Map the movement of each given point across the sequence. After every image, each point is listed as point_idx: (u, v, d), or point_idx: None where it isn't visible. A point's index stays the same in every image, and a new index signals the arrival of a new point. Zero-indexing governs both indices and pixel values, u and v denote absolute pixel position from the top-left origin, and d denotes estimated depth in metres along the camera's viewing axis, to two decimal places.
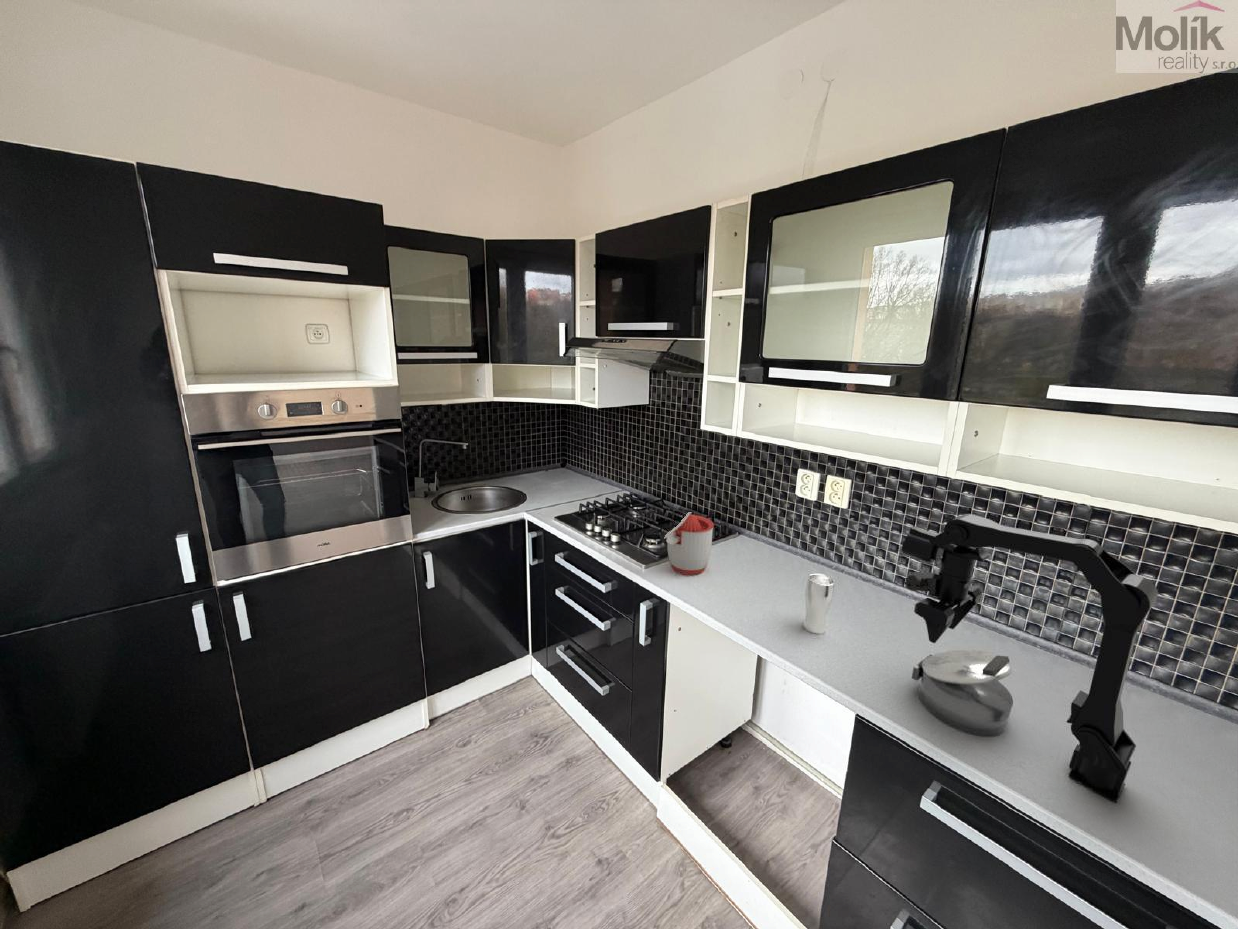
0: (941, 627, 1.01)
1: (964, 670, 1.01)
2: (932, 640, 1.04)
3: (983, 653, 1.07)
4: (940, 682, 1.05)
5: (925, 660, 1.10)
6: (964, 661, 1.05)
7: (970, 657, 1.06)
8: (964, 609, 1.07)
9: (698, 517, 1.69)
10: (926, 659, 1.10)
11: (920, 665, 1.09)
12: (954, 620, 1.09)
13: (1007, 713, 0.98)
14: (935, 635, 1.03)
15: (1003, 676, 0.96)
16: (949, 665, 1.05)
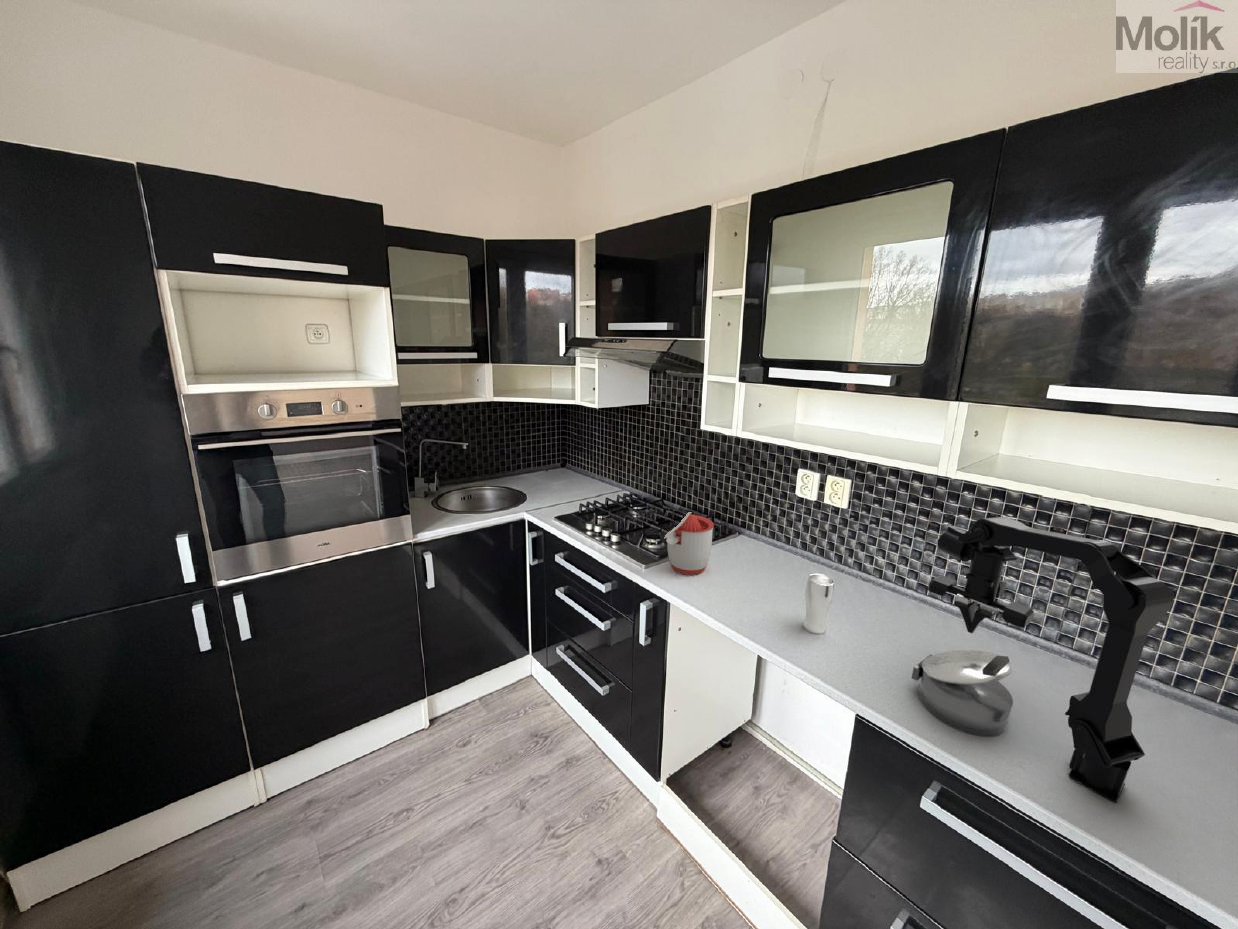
0: None
1: (964, 670, 1.01)
2: None
3: (983, 653, 1.07)
4: (940, 682, 1.05)
5: (925, 660, 1.10)
6: (964, 661, 1.05)
7: (970, 657, 1.06)
8: None
9: (698, 517, 1.69)
10: (926, 659, 1.10)
11: (920, 665, 1.09)
12: (972, 624, 1.10)
13: (1007, 713, 0.98)
14: None
15: (1003, 676, 0.96)
16: (949, 665, 1.05)
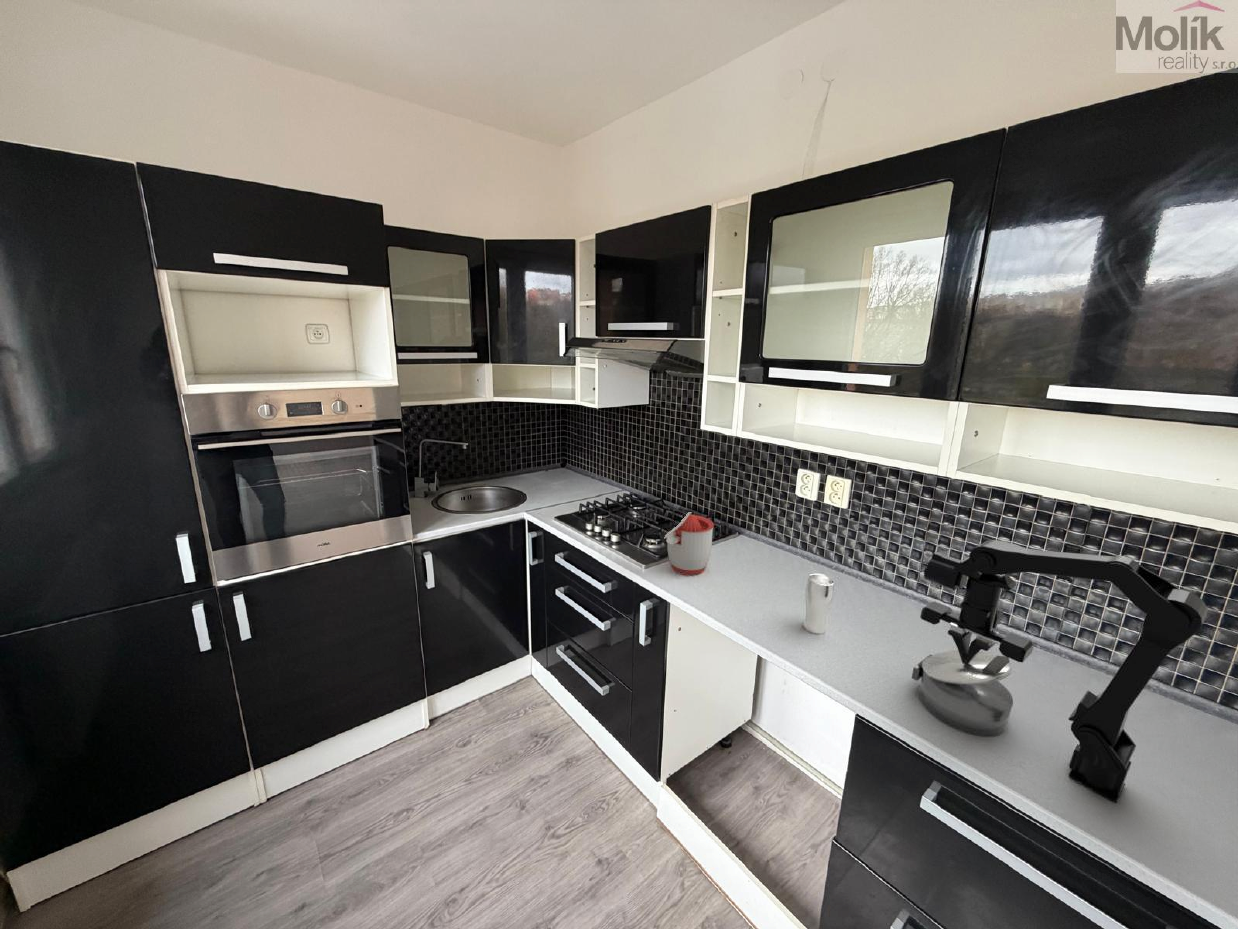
0: None
1: (964, 670, 1.01)
2: None
3: (983, 653, 1.07)
4: (940, 682, 1.05)
5: (925, 660, 1.10)
6: None
7: None
8: None
9: (698, 517, 1.69)
10: (926, 659, 1.10)
11: (920, 665, 1.09)
12: None
13: (1007, 713, 0.98)
14: None
15: (1003, 676, 0.96)
16: (949, 665, 1.05)
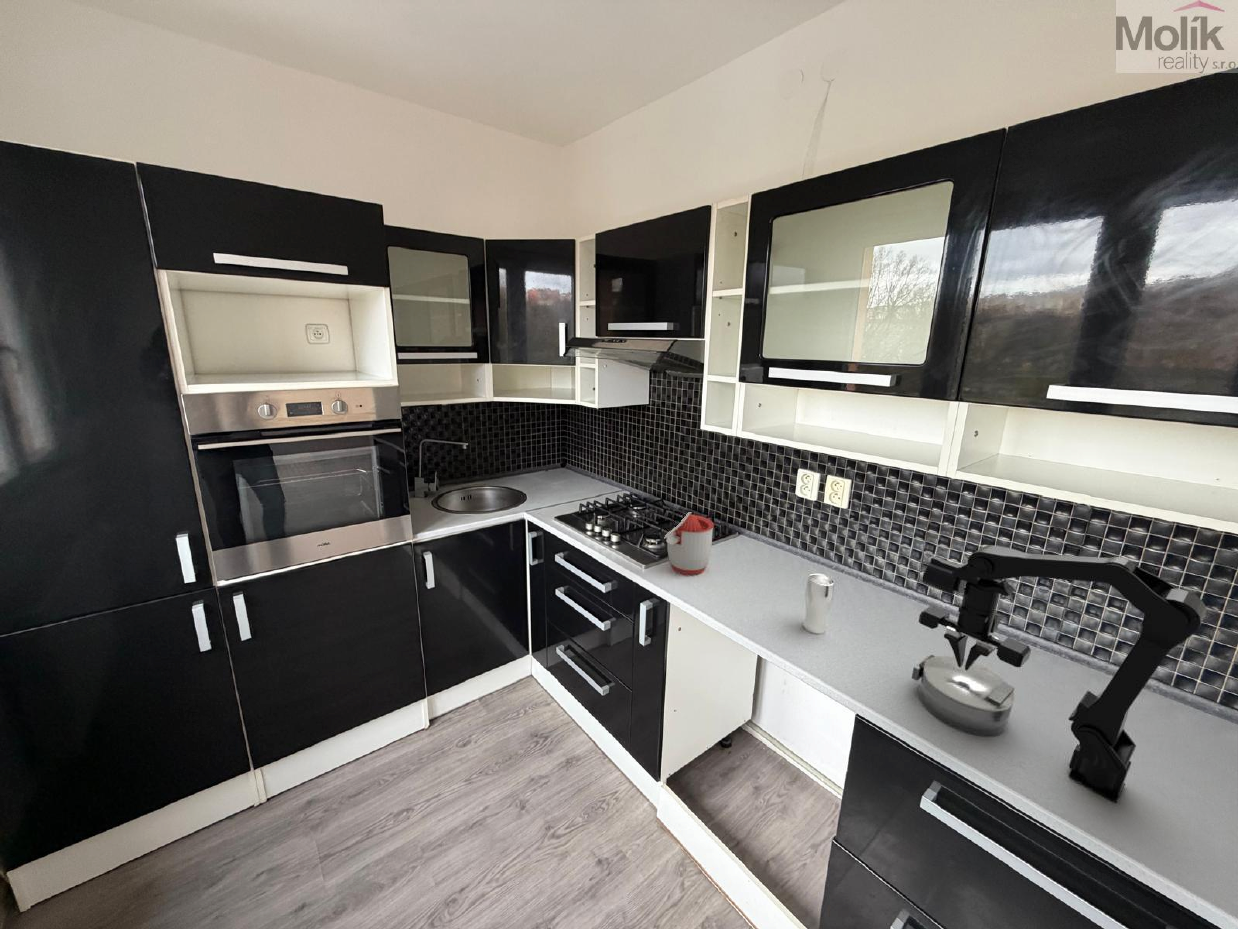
0: None
1: (967, 689, 1.01)
2: None
3: (986, 671, 1.07)
4: None
5: (927, 661, 1.10)
6: (967, 676, 1.05)
7: (973, 672, 1.06)
8: None
9: (698, 517, 1.69)
10: (928, 660, 1.10)
11: (921, 666, 1.09)
12: None
13: (1007, 713, 0.98)
14: None
15: (1005, 708, 0.97)
16: (952, 677, 1.05)
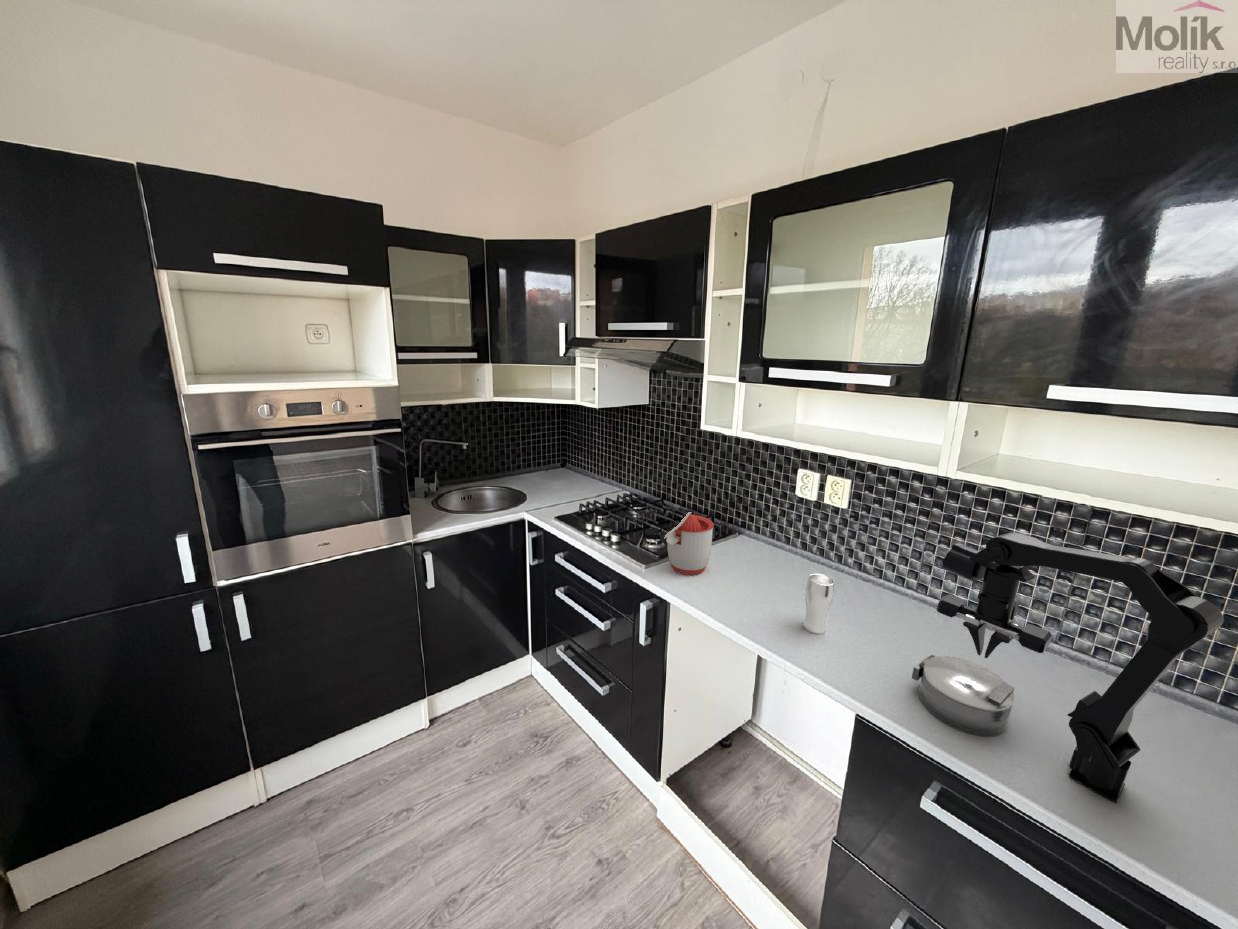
0: None
1: (967, 689, 1.01)
2: None
3: (986, 671, 1.07)
4: None
5: (927, 661, 1.10)
6: (967, 676, 1.05)
7: (973, 672, 1.06)
8: (991, 638, 1.01)
9: (698, 517, 1.69)
10: (928, 660, 1.10)
11: (921, 666, 1.09)
12: (987, 648, 1.03)
13: (1007, 713, 0.98)
14: None
15: (1005, 708, 0.97)
16: (952, 677, 1.05)
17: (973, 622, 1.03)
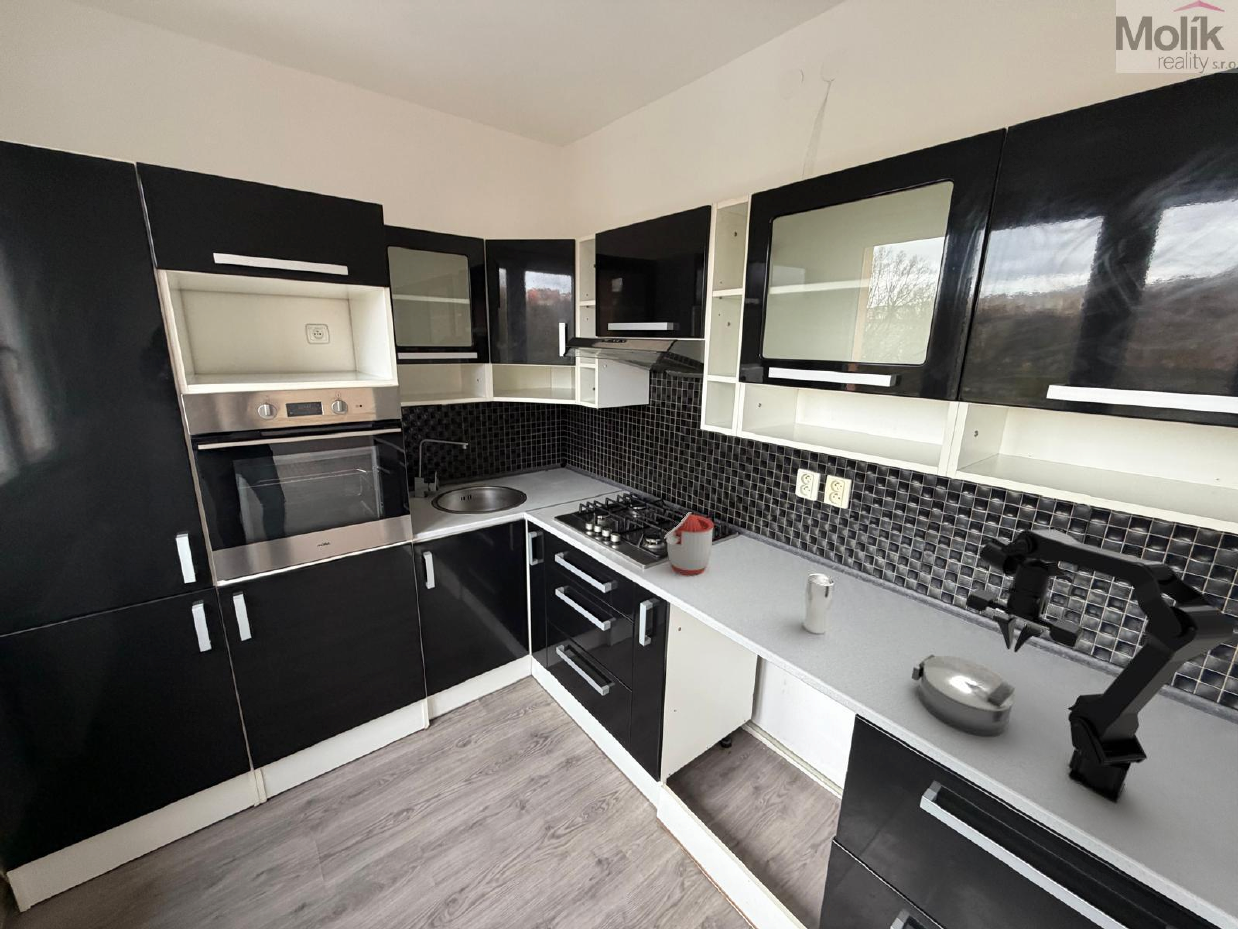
0: None
1: (967, 689, 1.01)
2: None
3: (986, 671, 1.07)
4: None
5: (927, 661, 1.10)
6: (967, 676, 1.05)
7: (973, 672, 1.06)
8: None
9: (698, 517, 1.69)
10: (928, 660, 1.10)
11: (921, 666, 1.09)
12: None
13: (1007, 713, 0.98)
14: None
15: (1005, 708, 0.97)
16: (952, 677, 1.05)
17: (1003, 616, 1.04)
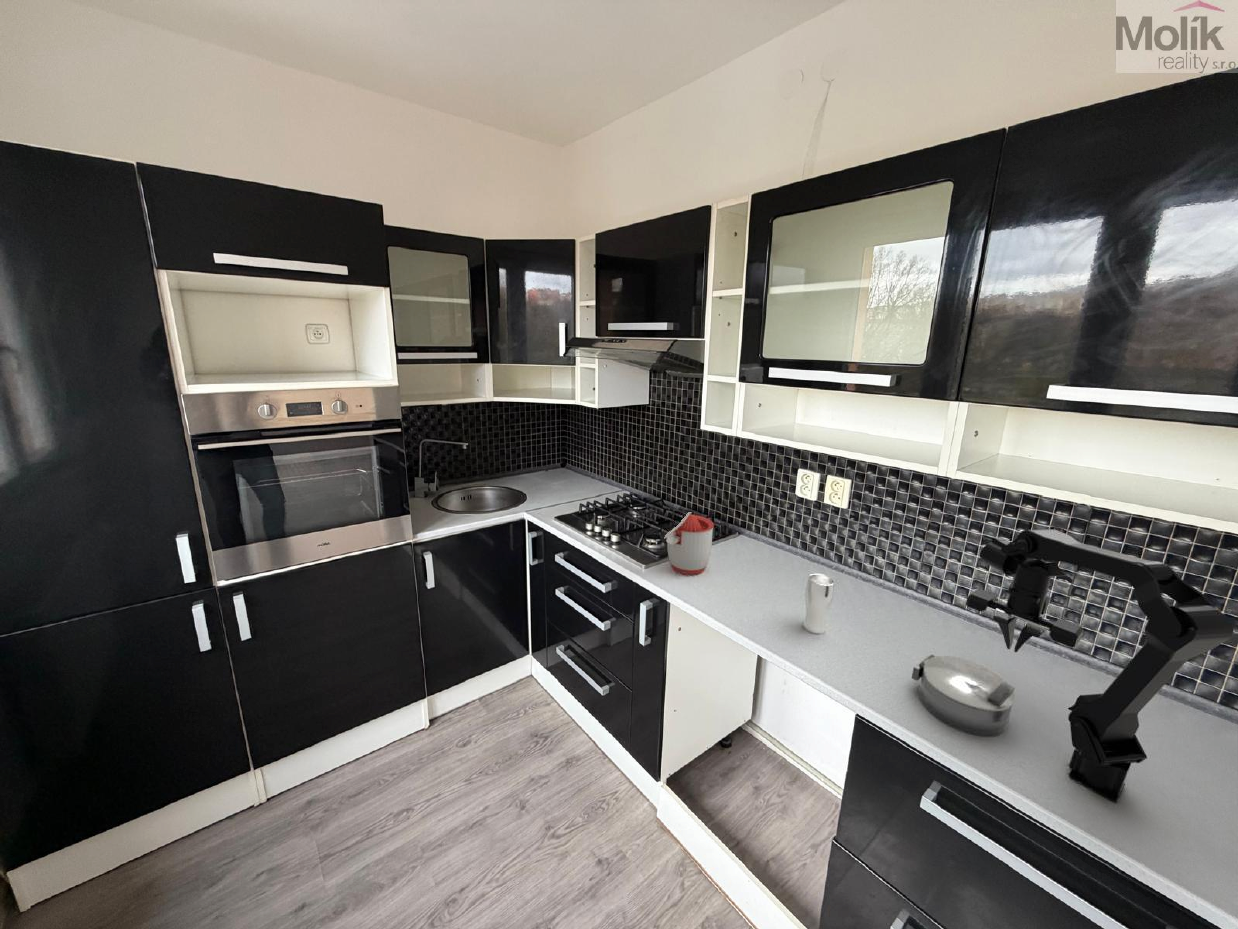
0: None
1: (967, 689, 1.01)
2: None
3: (986, 671, 1.07)
4: None
5: (927, 661, 1.10)
6: (967, 676, 1.05)
7: (973, 672, 1.06)
8: (1021, 632, 1.02)
9: (698, 517, 1.69)
10: (928, 660, 1.10)
11: (921, 666, 1.09)
12: (1017, 642, 1.04)
13: (1007, 713, 0.98)
14: None
15: (1005, 708, 0.97)
16: (952, 677, 1.05)
17: (1003, 616, 1.04)
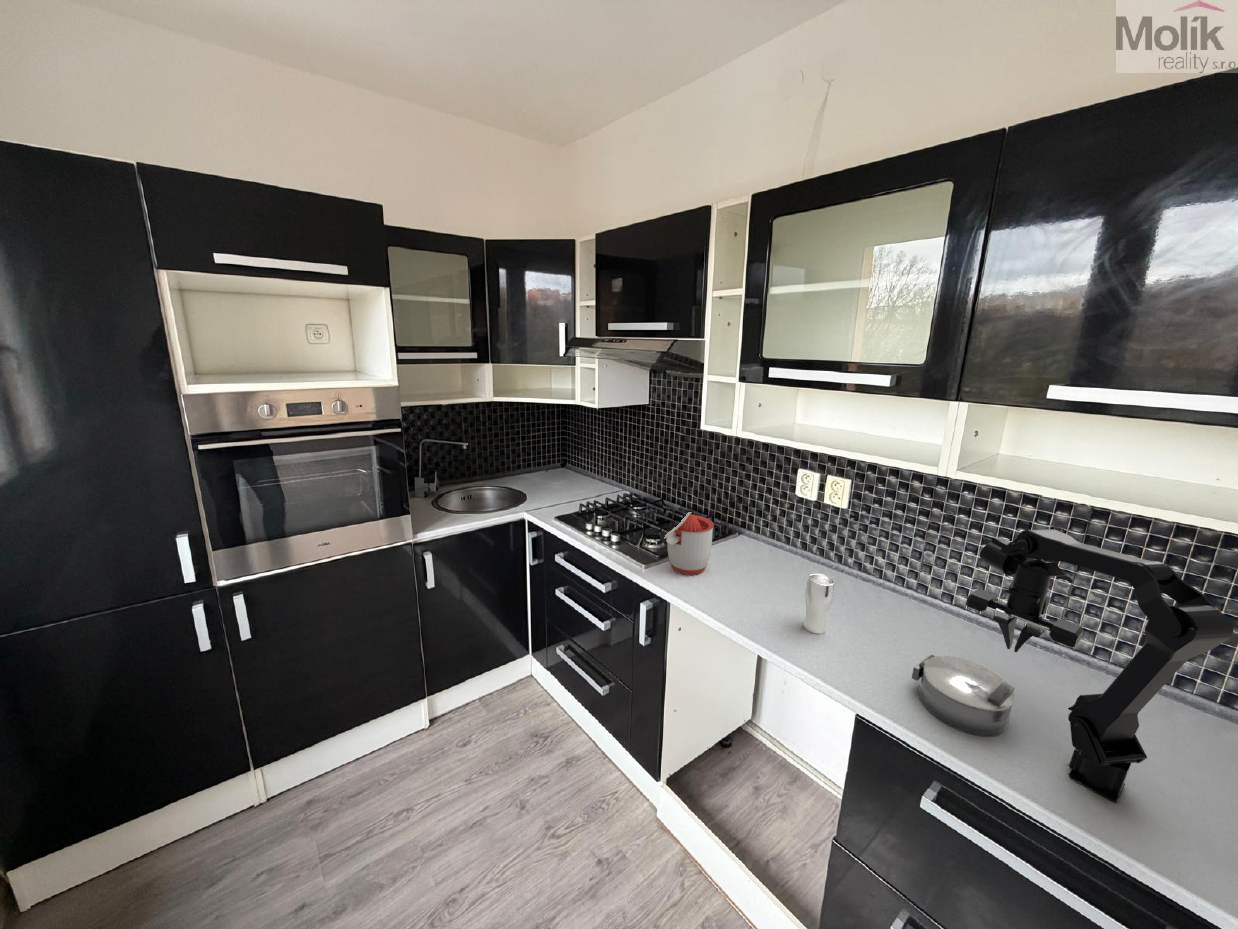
0: None
1: (967, 689, 1.01)
2: None
3: (986, 671, 1.07)
4: None
5: (927, 661, 1.10)
6: (967, 676, 1.05)
7: (973, 672, 1.06)
8: (1021, 632, 1.02)
9: (698, 517, 1.69)
10: (928, 660, 1.10)
11: (921, 666, 1.09)
12: (1017, 642, 1.04)
13: (1007, 713, 0.98)
14: None
15: (1005, 708, 0.97)
16: (952, 677, 1.05)
17: (1003, 616, 1.04)
